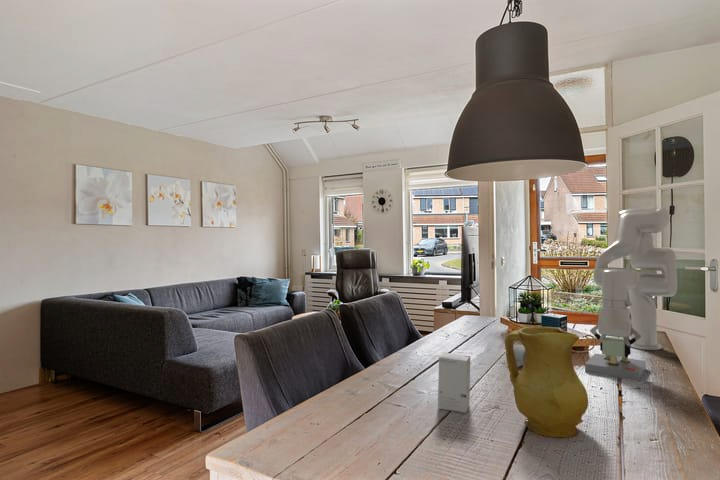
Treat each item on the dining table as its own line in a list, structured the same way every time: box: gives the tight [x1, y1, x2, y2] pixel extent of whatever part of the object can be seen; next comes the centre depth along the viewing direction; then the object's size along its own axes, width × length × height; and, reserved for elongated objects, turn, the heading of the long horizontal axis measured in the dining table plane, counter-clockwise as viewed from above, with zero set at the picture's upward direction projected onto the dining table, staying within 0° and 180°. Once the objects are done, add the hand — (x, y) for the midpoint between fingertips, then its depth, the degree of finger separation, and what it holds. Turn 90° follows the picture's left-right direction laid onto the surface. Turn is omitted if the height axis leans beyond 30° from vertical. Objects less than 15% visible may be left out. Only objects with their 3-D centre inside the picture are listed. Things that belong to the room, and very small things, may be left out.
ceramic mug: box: [506, 344, 526, 368], centre depth 157 cm, size 11×8×8 cm
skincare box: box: [437, 352, 471, 414], centre depth 120 cm, size 8×6×15 cm
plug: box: [601, 336, 629, 364], centre depth 149 cm, size 8×7×8 cm
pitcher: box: [504, 325, 589, 438], centre depth 108 cm, size 17×19×25 cm
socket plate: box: [584, 353, 647, 382], centre depth 149 cm, size 16×16×4 cm
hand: (615, 354), depth 149 cm, fingers closed on plug, 6 cm apart
